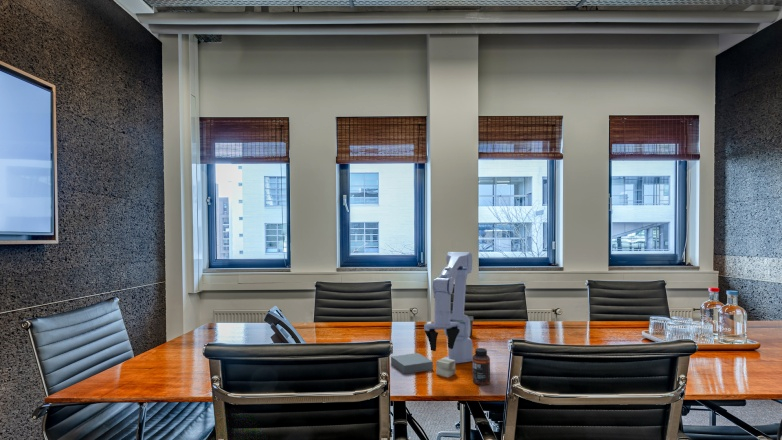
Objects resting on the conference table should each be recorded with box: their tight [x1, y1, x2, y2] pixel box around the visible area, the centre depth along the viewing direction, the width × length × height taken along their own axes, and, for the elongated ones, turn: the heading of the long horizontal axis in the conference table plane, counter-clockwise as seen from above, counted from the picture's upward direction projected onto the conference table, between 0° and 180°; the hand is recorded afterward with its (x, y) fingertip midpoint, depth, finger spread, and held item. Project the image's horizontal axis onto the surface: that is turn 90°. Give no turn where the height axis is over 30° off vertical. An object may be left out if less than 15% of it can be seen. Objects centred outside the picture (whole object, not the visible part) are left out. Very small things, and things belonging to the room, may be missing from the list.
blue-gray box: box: [390, 352, 434, 375], centre depth 156 cm, size 12×12×3 cm
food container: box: [456, 314, 474, 337], centre depth 208 cm, size 12×6×10 cm, turn 17°
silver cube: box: [435, 357, 456, 378], centre depth 149 cm, size 5×5×5 cm
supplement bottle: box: [472, 347, 491, 386], centre depth 141 cm, size 6×6×11 cm
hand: (442, 349), depth 145 cm, fingers open, 7 cm apart
